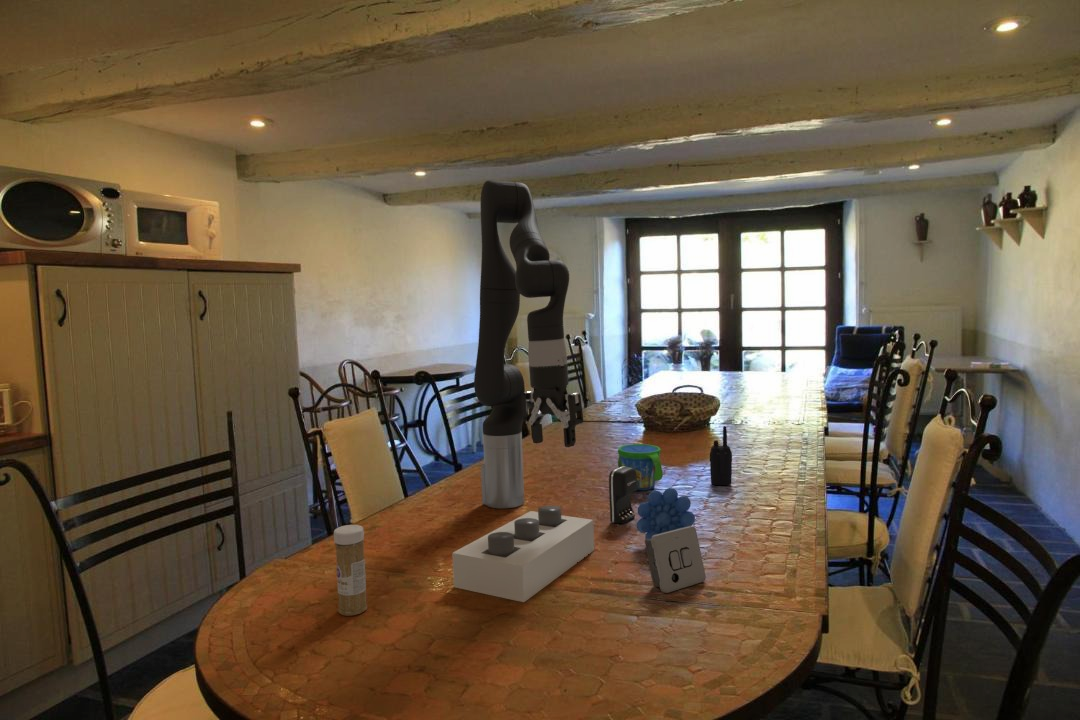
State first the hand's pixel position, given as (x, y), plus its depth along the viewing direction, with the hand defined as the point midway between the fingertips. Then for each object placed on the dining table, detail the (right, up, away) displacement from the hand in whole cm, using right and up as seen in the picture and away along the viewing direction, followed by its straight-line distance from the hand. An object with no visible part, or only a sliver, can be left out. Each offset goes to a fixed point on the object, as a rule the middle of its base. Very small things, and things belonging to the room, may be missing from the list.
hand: (553, 444), depth 140 cm
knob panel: (-5, -21, -12) cm, 24 cm away
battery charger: (+16, -18, +14) cm, 28 cm away
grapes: (+22, -20, -3) cm, 30 cm away
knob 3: (-1, -17, -5) cm, 17 cm away
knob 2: (-5, -17, -12) cm, 22 cm away
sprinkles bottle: (-32, -23, -27) cm, 48 cm away
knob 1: (-9, -18, -19) cm, 28 cm away
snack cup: (+23, -16, +40) cm, 49 cm away
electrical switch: (+20, -21, -21) cm, 36 cm away
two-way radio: (+43, -15, +39) cm, 61 cm away
